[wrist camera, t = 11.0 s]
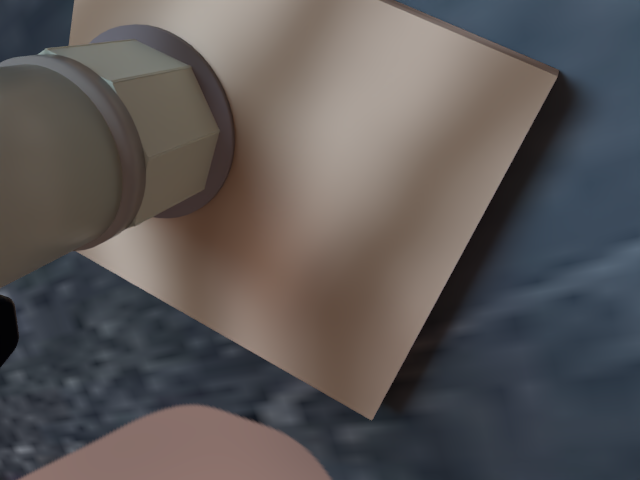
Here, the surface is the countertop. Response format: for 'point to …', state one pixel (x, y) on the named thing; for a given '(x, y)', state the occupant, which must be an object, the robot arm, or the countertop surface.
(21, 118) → the light bulb
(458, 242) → the mounting board
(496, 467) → the countertop surface
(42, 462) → the countertop surface
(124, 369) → the countertop surface
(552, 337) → the countertop surface
